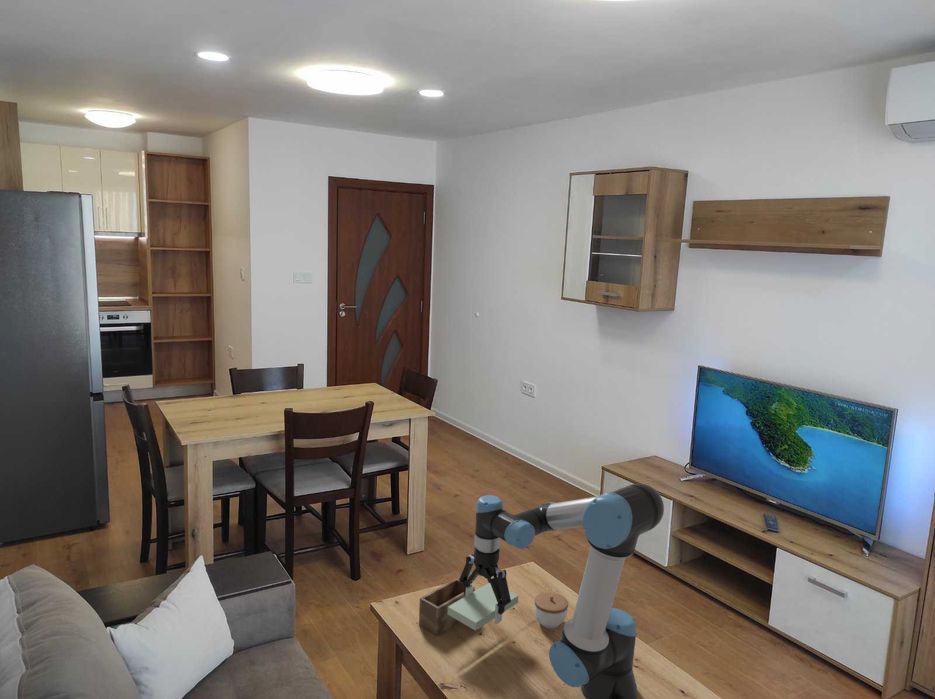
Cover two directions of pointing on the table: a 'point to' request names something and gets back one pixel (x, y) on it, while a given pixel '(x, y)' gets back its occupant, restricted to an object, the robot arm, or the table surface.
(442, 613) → the box
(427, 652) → the table surface
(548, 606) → the lidded jar
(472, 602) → the lid
